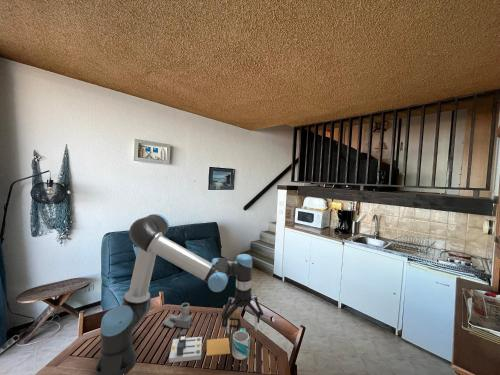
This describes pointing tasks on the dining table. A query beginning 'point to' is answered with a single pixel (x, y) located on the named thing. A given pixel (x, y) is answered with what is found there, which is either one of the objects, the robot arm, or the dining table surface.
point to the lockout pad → (218, 347)
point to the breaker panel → (187, 350)
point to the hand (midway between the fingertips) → (241, 330)
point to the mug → (240, 344)
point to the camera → (179, 318)
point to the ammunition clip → (233, 318)
